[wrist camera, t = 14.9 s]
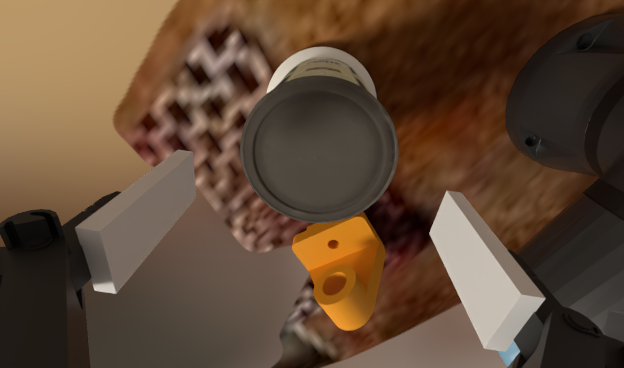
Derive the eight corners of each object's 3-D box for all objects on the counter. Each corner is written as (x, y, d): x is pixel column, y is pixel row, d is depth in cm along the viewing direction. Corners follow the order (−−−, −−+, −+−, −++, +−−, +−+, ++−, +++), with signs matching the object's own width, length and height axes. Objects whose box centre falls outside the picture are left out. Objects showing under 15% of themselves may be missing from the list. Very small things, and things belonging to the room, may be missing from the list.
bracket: (359, 202, 38) (371, 269, 27) (382, 240, 41) (401, 314, 30) (291, 233, 41) (278, 304, 30) (317, 267, 44) (313, 342, 33)
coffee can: (299, 165, 34) (282, 240, 22) (258, 82, 30) (209, 117, 18) (382, 133, 32) (417, 198, 20) (351, 38, 28) (369, 44, 15)
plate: (387, 56, 29) (389, 56, 28) (362, 162, 35) (363, 166, 34) (271, 38, 29) (269, 38, 28) (264, 147, 35) (262, 151, 34)
